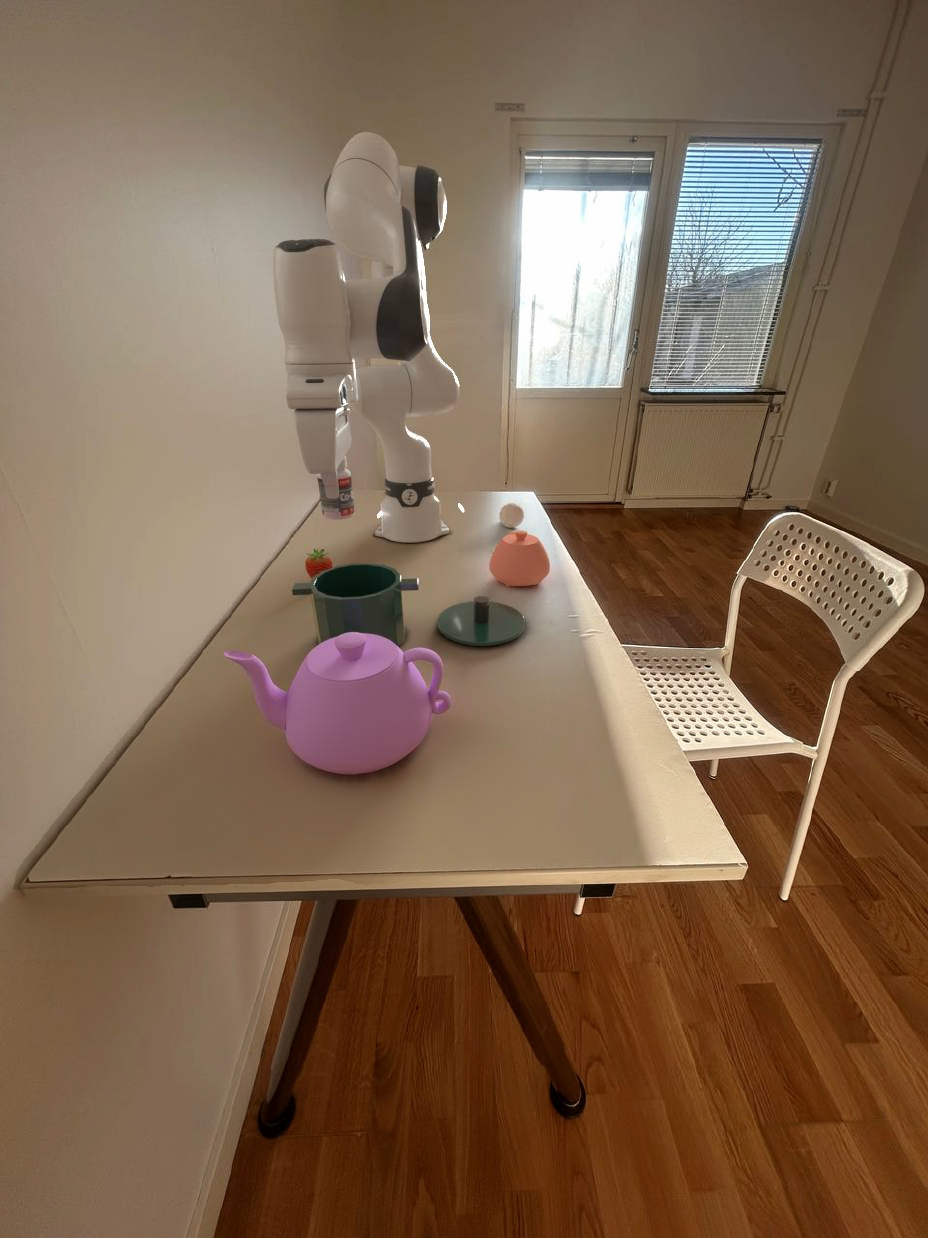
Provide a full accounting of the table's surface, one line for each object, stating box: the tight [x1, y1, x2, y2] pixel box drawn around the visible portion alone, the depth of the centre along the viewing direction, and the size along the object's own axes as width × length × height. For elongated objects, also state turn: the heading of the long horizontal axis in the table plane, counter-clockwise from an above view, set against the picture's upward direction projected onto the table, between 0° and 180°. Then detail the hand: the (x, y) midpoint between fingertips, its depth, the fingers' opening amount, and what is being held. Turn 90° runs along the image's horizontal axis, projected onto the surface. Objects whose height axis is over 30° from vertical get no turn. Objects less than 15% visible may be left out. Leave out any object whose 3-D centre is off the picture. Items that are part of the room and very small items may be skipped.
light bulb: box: [498, 502, 525, 529], centre depth 137 cm, size 7×7×11 cm
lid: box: [437, 595, 526, 647], centre depth 87 cm, size 15×15×5 cm
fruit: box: [304, 548, 334, 579], centre depth 102 cm, size 5×5×8 cm
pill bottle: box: [316, 455, 356, 521], centre depth 74 cm, size 5×5×8 cm
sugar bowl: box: [488, 529, 551, 588], centre depth 104 cm, size 12×14×10 cm
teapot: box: [223, 632, 452, 776], centre depth 61 cm, size 25×18×14 cm
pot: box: [291, 562, 419, 648], centre depth 83 cm, size 14×19×10 cm
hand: (336, 491), depth 75 cm, fingers closed on pill bottle, 5 cm apart
